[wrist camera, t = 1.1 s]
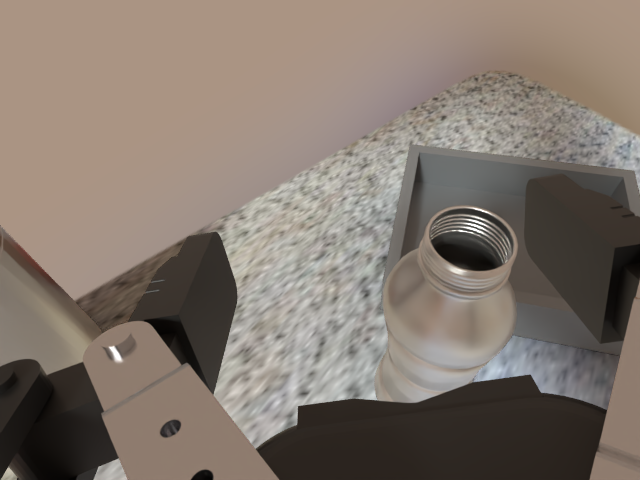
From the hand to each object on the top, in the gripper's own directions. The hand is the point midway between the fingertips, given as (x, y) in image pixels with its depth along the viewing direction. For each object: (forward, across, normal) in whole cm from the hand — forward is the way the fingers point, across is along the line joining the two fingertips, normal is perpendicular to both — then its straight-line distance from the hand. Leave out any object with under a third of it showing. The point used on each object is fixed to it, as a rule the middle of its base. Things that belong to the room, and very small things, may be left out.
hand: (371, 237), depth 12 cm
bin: (+25, -13, +18) cm, 34 cm away
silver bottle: (+14, -2, +22) cm, 26 cm away
